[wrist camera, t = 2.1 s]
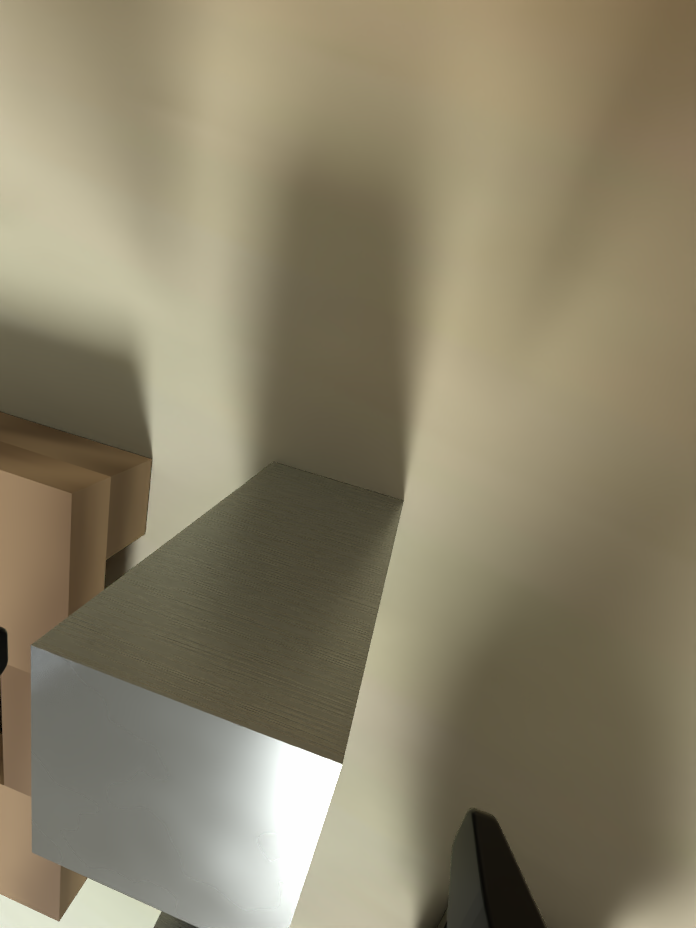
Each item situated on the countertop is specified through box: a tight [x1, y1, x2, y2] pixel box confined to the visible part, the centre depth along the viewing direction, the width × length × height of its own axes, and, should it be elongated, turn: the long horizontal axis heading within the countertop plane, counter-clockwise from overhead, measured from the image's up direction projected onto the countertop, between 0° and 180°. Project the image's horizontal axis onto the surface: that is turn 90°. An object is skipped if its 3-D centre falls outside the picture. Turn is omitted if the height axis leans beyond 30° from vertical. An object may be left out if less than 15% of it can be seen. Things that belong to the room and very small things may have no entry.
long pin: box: [31, 462, 404, 928], centre depth 11 cm, size 4×4×9 cm
